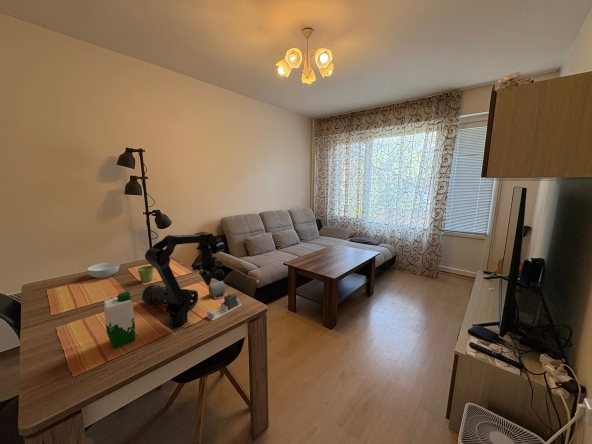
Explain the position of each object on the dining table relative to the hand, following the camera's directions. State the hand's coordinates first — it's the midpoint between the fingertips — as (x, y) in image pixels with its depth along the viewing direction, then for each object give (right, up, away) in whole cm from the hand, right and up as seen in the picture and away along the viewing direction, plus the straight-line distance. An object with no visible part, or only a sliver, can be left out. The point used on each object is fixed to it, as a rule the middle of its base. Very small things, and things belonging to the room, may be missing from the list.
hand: (208, 285), depth 120 cm
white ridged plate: (+9, -13, -2) cm, 16 cm away
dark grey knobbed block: (+11, -11, +1) cm, 16 cm away
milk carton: (-26, -16, -25) cm, 39 cm away
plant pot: (-52, -6, +32) cm, 62 cm away
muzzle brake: (-21, -12, +2) cm, 24 cm away
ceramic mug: (+1, -10, +14) cm, 17 cm away
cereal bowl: (-85, -4, +38) cm, 93 cm away
